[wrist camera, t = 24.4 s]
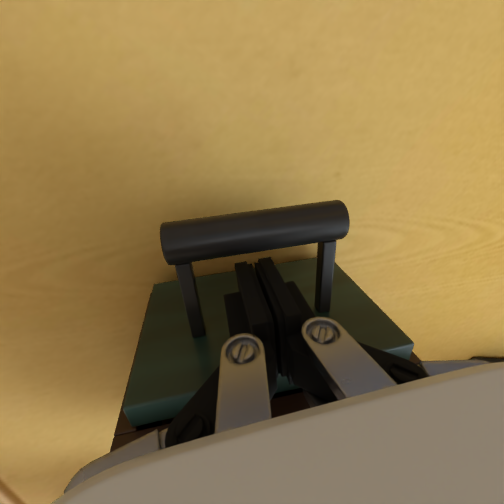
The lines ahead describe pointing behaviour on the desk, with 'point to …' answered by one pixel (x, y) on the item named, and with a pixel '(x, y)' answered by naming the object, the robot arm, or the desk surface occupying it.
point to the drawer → (215, 286)
